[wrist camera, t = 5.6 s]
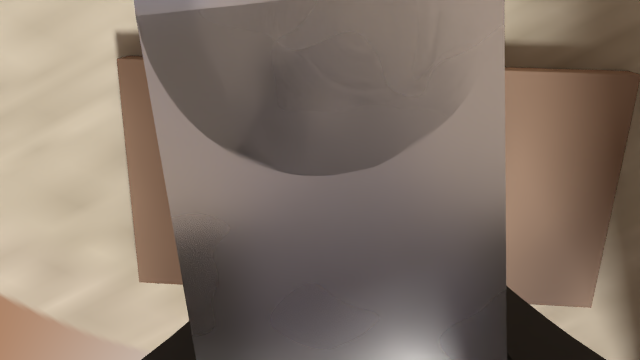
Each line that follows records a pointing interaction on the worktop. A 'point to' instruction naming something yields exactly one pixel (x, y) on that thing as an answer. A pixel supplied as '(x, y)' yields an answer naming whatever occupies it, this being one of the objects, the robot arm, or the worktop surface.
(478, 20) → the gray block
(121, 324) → the worktop surface
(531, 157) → the walnut board
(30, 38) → the worktop surface
